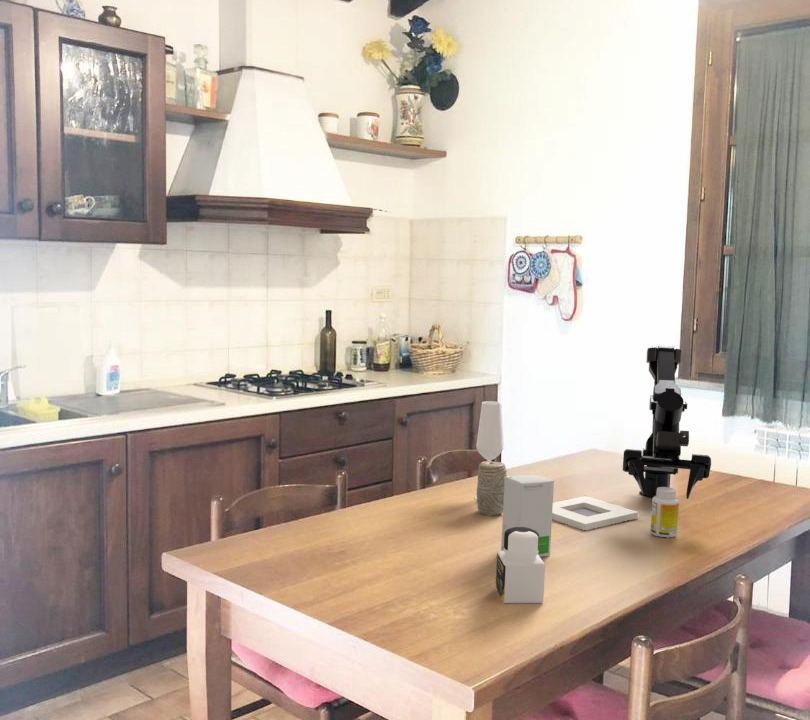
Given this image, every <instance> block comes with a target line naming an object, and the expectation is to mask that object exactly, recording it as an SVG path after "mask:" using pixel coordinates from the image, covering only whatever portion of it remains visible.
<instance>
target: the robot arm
mask: <svg viewBox="0 0 810 720" xmlns="http://www.w3.org/2000/svg"><path fill="white" fill-rule="evenodd" d="M645 362H646V363H647V364H648V372H649V373H650V375H651V378H653V381H654V382H653V383H654V384H653V391H652V395H651V394H650V395H649V404H648V405H649V408H648V409H649V411H652V412H651V414H652V432H651V434H650V436H649V437H648V438H647V440H646V441H645V442H646V443H645V446H644V448H642V450H641V449H630V448H626V449H625V450H624V451H623V457H622V471H623V472H626V473H628V475H629V476H632V477H633V478H634V479H635V481H636V482H637V485H638V487H639V489H640V491H638V494H640V495H643V496H647V497H650V498H653V497H654V496H657V495H656V492H657V488H658V487H669V488H671V475H673V476H675V475H677V474H679V470H689V475H688V479H687V480H688V481H687V487H686V496H685V497H686V499H687V500H689V499H690V495H692V494H691V493H692V491H693V489H694V487H695V486H696V484H697V483H698V482H699V481H703V479H708V478H709V477H710V472H711V467H712V458H711V457H710V456H709V455H708V454H699V453H698V454H697V453H692V455H691V460H689V459H680V457H681V455H682V454H681V452H682V447H688V446H689V443H690V434H689V433H690V431H689V430H680V422H681V421H682V420H681V419H682V415H683V413H684V412H685V410H688V403H687V402H686V400H685V397H682V393H681V392H682V391H681V389H682V388H681V387H679V386H678V384H676V372H677V370H678V365H681V363H682V349H679V348H677V347H676V346H670V345H651V347H647V350H646V361H645Z"/></svg>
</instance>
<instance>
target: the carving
mask: <svg viewBox="0 0 810 720" xmlns="http://www.w3.org/2000/svg"><path fill="white" fill-rule="evenodd" d="M477 471H478V473H477V486H476V496H477V500H476V504H477V505H476V506H477V512H478V513H479V514H480V515H484V516H489V517H490V516H497V515H500V514H503V503H504V477H505V476H508V475H507V474H508V473H507V468H506V465H505V463H503V462H501V461H500V462H499V461H487V460H485V461H482V462H480V463H479V465H478V470H477Z"/></svg>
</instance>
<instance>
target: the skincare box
mask: <svg viewBox="0 0 810 720" xmlns="http://www.w3.org/2000/svg"><path fill="white" fill-rule="evenodd" d="M554 486H555V481H554V480H553V479H550V478H548V477H544V476H541V475H539V474H525V475H524V474H519V475H506V476H505V477H504V503H503V512H502V524H501V527H502V529H501V530H502V531H501V543H500V544H501V547H500V551H504V533H505V531H506V530H507V529H510V528H513V527H527V528H531V529H533V530H535V531H537V532H538V534H539V551H538V555H539V557H540V558H542V557H550V556H551V543H552V542H551V541H552V527H553V526H552V525H553V524H552V521H553V519H552V508H553V503H554Z"/></svg>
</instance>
